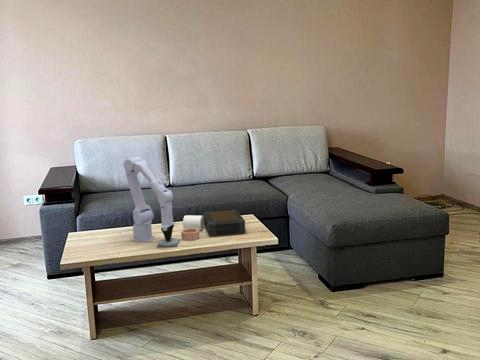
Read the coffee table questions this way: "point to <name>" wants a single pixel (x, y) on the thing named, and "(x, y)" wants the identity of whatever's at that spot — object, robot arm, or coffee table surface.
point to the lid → (168, 242)
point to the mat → (169, 246)
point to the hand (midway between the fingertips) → (168, 240)
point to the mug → (193, 222)
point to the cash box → (224, 223)
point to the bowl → (190, 234)
